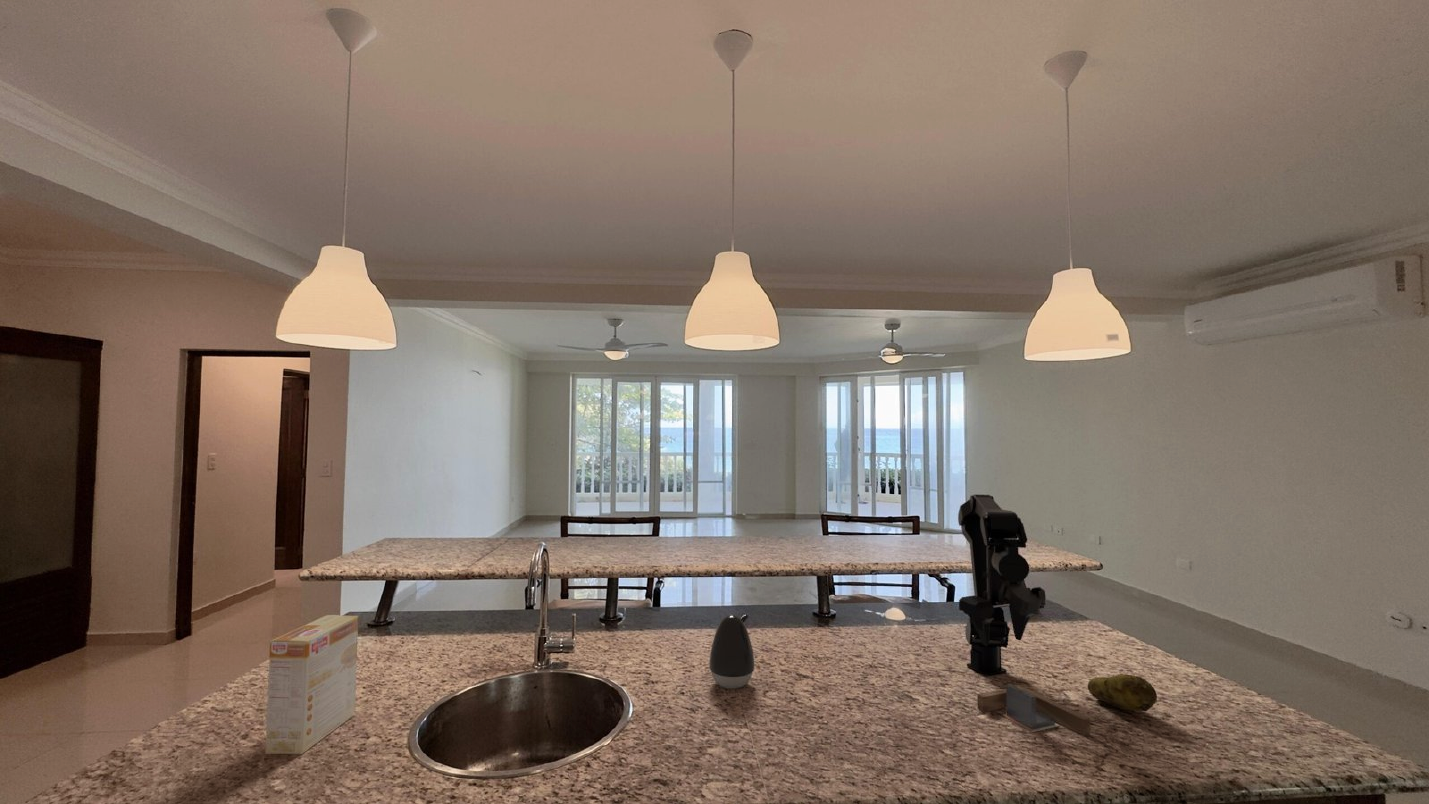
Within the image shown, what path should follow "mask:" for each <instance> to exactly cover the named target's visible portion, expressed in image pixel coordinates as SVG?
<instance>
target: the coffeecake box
mask: <svg viewBox="0 0 1429 804" xmlns="http://www.w3.org/2000/svg"><path fill="white" fill-rule="evenodd" d="M358 632H359V615H342V614H327V615H324V616H321V617H320V618H318V619H316V620H313V621H311V622H309V623H307V624H304V625H302V626H300V627H298V628H296V629H293V630H291V631H289V632H287V633H285V634H283V635H280V636H278V637H276V638H274V639H271V640H269V654H268V656H269V659H268V661H269V662H268V681H267V683H268V685H267V704H266V705H267V706H266V726H265V727H266V728H265V730H266V731H265V735H266V736H265V752H264V753H265V755H266V754H267V755H268V754H269V755H280V754H281V755H303V754H304V753H306V752H307V751H308V750H310V749H311V748H312V747H313V746H315V745H316V744H317V743H319V742H320V741H321V740H323V739H324V738H325V737H327V736H328V735H330V734H331V733H332V732H333V731H335V730H337V729H338V728H339V727H340V726H342V725H343V724H344V723H346V722H347V721H348V720H350V719H351V718H353V717H354V716H355V715H356V693H357V692H356V691H357V689H356V688H357V669H358V668H357V666H358V663H357V660H358V637H359V636H358V635H359V634H358Z"/></svg>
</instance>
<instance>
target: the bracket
mask: <svg viewBox="0 0 1429 804" xmlns="http://www.w3.org/2000/svg"><path fill="white" fill-rule="evenodd" d="M1015 686H1016V685H1014V684H1011V683H1010V684H1006V685H1005V689H1006V708H1005V710H1006V714H1007V716H1008V717H1010V718H1012V719H1014V720H1015V721H1017V722H1019V723H1021V724H1023V725H1024V726H1026V727H1028V728H1030V729H1032V730H1033V729H1037V728H1042V727H1047V726H1051V725H1055V723H1056V721H1055V719H1053V718H1051V717H1049V716H1047V715H1045V714H1044V713H1042V712H1040V711H1038V710H1036V696H1034V695H1032V694H1030V693H1028V692H1026V691H1024V690H1022V689H1020V688H1018V687H1015Z"/></svg>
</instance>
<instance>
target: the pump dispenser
mask: <svg viewBox="0 0 1429 804" xmlns="http://www.w3.org/2000/svg"><path fill="white" fill-rule="evenodd" d="M748 618H749V616H748V614H743V615H742V616H741V617H739V616H738V615H734V614H729V615H727V616H725V617H723V618H722V619H721V621H720V623H719V624H718V626H717V628H716V631H715V634H714V637H713V640H712V643H711V649H710V654H709V662H708V663H709V665H708V666H709V667H708V668H709V671H710V673H711V677H712V678H713V680H714V682H715V683H716V684H717V685H719V686H721V687H722V688H725V689H732V690H734V689H740V688H743V687H744V686H746V685H747V684H748V683H749V682H750V680H751V679H752V676H753V673H754V671H755V657H754V650H753V645H752V642H751V637H750V634H749V632H748V629H747V626H746V624H745V622H746V621H747V620H748Z"/></svg>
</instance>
